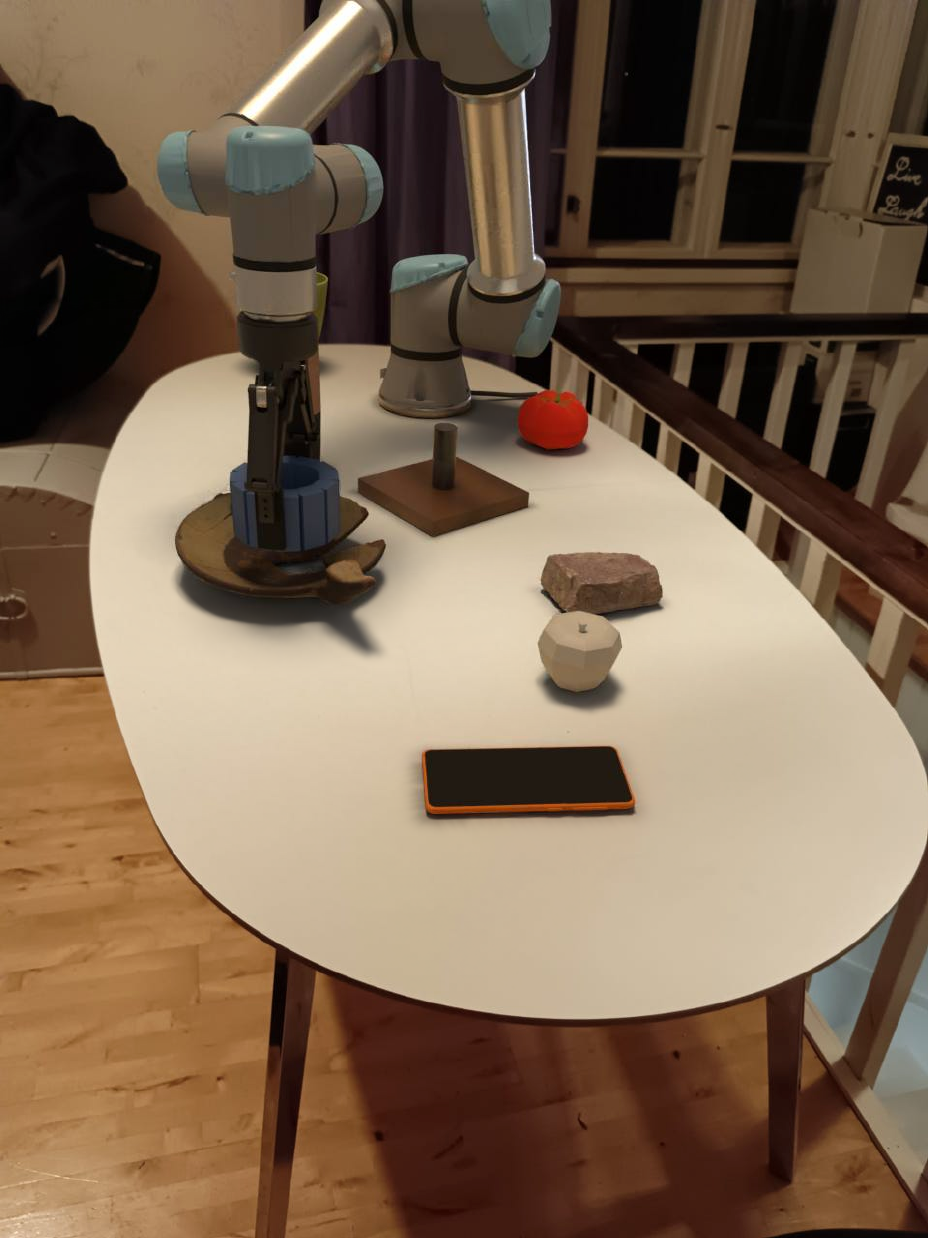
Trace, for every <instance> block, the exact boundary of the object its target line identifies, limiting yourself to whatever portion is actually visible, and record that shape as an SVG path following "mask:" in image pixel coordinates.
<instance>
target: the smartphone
mask: <svg viewBox="0 0 928 1238" xmlns="http://www.w3.org/2000/svg"><path fill="white" fill-rule="evenodd" d="M621 759H622V758H621V757H620V753H619V751H618V749H617V747H615V746H613V745H574V746H573V745H572V746H571V745H570V746H527V747H526V746H525V747H478V748H477V747H476V748H473V747H471V748H431V749H425V750H423V751H422V752H421V763H422V776H423V783H424V785H423V788H424V789H423V790H424V801H425V808H426V811H427V812H429V813H430V814H434V815H442V814H443V815H444V814H445V815H446V814H449V815H450V814H480V813H481V814H482V813H516V812H517V813H520V812H521V813H522V812H562V811H607V810H626V809H627V810H628V809H631V808H633V807H635V805H636V798H635V795H634V793H633V790H632V787H631V785H630V784H631V783H630V781H629V778H628V776H627V773H626V769H625V767H624V765H623V762H622V760H621Z"/></svg>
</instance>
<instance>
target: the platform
mask: <svg viewBox="0 0 928 1238" xmlns="http://www.w3.org/2000/svg"><path fill="white" fill-rule="evenodd" d="M458 430H459V428H458V425H457V424H454V423H451V422H438V423H435V424H434V425H433V438H432V439H433V440H432V441H433V443H432V458H431V459H427V460H423V461H419V462H416V463H411V464H407V465H403V466H400V467H396V468H391V469H387V470H384V471H379V472H375V473H373V474H368V475H365V476H360V477H357V493H358V494H361V495H362V496H364V497H365V498H367V499H369V500H370V501H372V502H374V503H375V504H377V505H379V506H381V507H382V508H383V509H385V510H387V511H388V512H391V513H392V514H394V515H396V516H397V517H399V518H401V519H402V520H404V521H406V522H408V523H409V524H410V525H412V526H414V527H416V528H418V529H419V530H421V531H422V532H424V533H426V534H427V535H429V536H431V537H435V536H439V535H441V534H442V535H443V534H445V533H448V532H451V531H455V530H457V529H461V528H464V527H467V526H471V525H474V524H477V523H480V522H483V521H486V520H489V519H490V520H491V519H493V518H496V517H499V516H502V515H505V514H509V513H512V512H516V511H518V510H521V509H524V508H527V507H529V500H530V492H529V491H527V490H525V489H523V488H521V487H519V486H518V485H517V486H516V485H515V484H513V483H511V482H509V481H507V480H505V479H503V478H501V477H498V476H497V475H495V474H493V473H491V472H489V471H487V470H485V469H484V468H483V469H482V468H481V467H479V466H477V465H474V464H472V463H471V462H469V461H466V460H465V459H462V458H461V457H458V456H457V447H458Z"/></svg>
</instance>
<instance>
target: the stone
mask: <svg viewBox="0 0 928 1238" xmlns="http://www.w3.org/2000/svg"><path fill="white" fill-rule="evenodd" d="M659 574H660V573H659V570H658V568H657V567H656V565H654V564H651V562H650V561H648V560H647V559H645V558H643V557H641V555H639V554H633V553H628V552H601V551H597V552H594V551H589V552H587V551H586V552H573V553H558V554H555V553H554V554H552V555H551V554H549V555H548V556H547V558H546V561H545V564H544V566H543V569H542V573H541V576H540V585H541V586H542V588H543V589H544V590H545V591H547V592H548V594H549V595H550V598H552V599H553V601H554V602H555V603H557V604H558V607H560V608H561V610H562V611H565V613H568V612H574V611H582V612H586V613H590V614H594V615H598V614H599V615H600V614H604V613H611V612H615V611H620V610H630V609H636V608H641V607H647V606H656V605H657V604H659V603H660V602H661V600H662V598H663V595H664V594H663V593H664V588H663V585H662V584H661V581H660V575H659Z"/></svg>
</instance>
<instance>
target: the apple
mask: <svg viewBox="0 0 928 1238" xmlns="http://www.w3.org/2000/svg"><path fill="white" fill-rule="evenodd" d="M537 647H538V652H539V656H540V657H539V658H540V661H541V663H542V665H543V667H544V669H545V671H546V673H547V675H549V677H550V678H551V680H552V681H553V682H554V684H556V686H557V687H559V688H560V689H564V690H566V691H571V692H574V693H580V692H584V691H585V692H586V691H590V690H593V689H595V688H597V687H599V685H600V684H601V683H602V682H603V681H604V680H606V678H607V676H608V674H609V673H610V671H611V669H612V668H613V666H614V663H615V662H616V660H617V658H618V656H619V654H620V652H621V650H622V648H623V644H622V637H621V633H620V631H619V630H618V629H617V628H616V626H613V624H612V623H611V622H610V621H609V620H608V619H607V618H606V617H605V616H601V615H598V614H596V615H594V614H590V613H586V612H582V611H574V612H568V613H567V612H563V613H557V614H554V615H552V616H551V618H550V620H549V621H548V622H547V624H546V625H545V627H544V628H543V630H542V632H541V634H540V637H539V639H538V641H537Z"/></svg>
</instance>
